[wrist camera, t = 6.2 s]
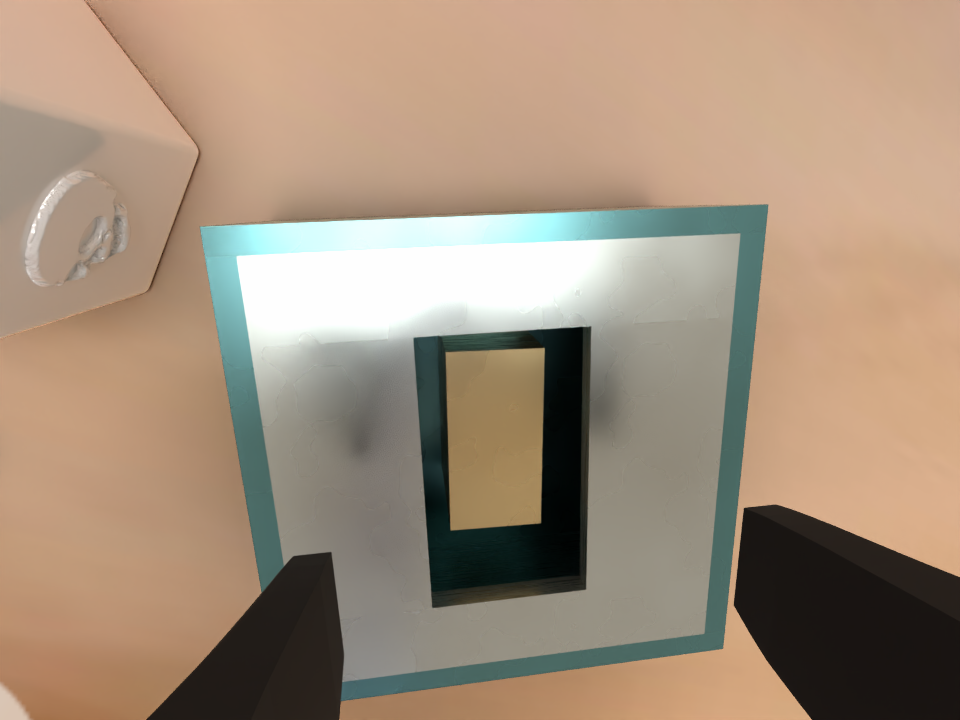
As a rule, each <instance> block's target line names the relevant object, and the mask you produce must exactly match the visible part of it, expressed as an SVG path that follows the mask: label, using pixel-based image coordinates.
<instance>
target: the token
mask: <svg viewBox="0 0 960 720" xmlns="http://www.w3.org/2000/svg"><path fill="white" fill-rule="evenodd" d="M544 356H545V348H544V347H543V346H542V345H541V344H540V343H539V342H538V341H537V340H536V339H535V338H534V337H533V336H532V335H531V334H530V333H529V332H528V331H527V330H523V331H508V332H492V333H476V334H460V335H445V336H438V364H439V396H440V428H441V460H442V471H443V478H444V486H445V493H446V501H447V508H448V515H449V523H450V530H463V529H476V528H488V527H500V526H513V525H525V524H537V523H541V490H542V445H543V400H544Z"/></svg>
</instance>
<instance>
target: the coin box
mask: <svg viewBox="0 0 960 720" xmlns="http://www.w3.org/2000/svg"><path fill="white" fill-rule="evenodd" d="M767 213H768V205H700V206H644V207H618V208H592V209H566V210H540V211H514V212H488V213H462V214H436V215H410V216H384V217H358V218H332V219H306V220H280V221H264V222H251V223H239V224H227V225H215V226H203V227H200V231H201V237H202V243H203V249H204V255H205V260H206V266H207V272H208V278H209V284H210V290H211V296H212V302H213V308H214V314H215V320H216V326H217V331H218V337H219V343H220V349H221V355H222V361H223V367H224V373H225V379H226V385H227V391H228V396H229V402H230V408H231V414H232V420H233V426H234V432H235V438H236V444H237V450H238V456H239V461H240V467H241V473H242V479H243V485H244V491H245V497H246V503H247V509H248V515H249V521H250V527H251V532H252V538H253V544H254V550H255V556H256V562H257V568H258V574H259V580H260V586H261V592H263V591H264V590H265V588H266V587H267V586H268V585H269V584H270V582H271V581H272V580H273V579H274V578H275V576H276V575H277V574H278V573H279V572H280V570H281V569H282V568H283V567H284V566H285V565H286V563H287V562H288V561H289V560H290V559H291V558H292V557H293V556H297V555H307V554H316V553H325V552H332V560H333V568H334V576H335V584H336V592H337V600H338V608H339V616H340V624H341V632H342V640H343V648H344V666H343V680H342V692H341V701H345V700H353V699H360V698H367V697H375V696H382V695H389V694H397V693H404V692H411V691H419V690H426V689H433V688H440V687H448V686H455V685H462V684H470V683H477V682H484V681H492V680H499V679H506V678H514V677H521V676H528V675H535V674H543V673H550V672H557V671H565V670H572V669H579V668H587V667H594V666H601V665H609V664H616V663H623V662H631V661H638V660H645V659H652V658H660V657H667V656H674V655H682V654H689V653H696V652H704V651H711V650H718V649H723V643H724V634H725V624H726V614H727V604H728V595H729V585H730V575H731V565H732V555H733V546H734V536H735V526H736V516H737V506H738V497H739V487H740V477H741V467H742V458H743V448H744V438H745V428H746V418H747V409H748V399H749V389H750V379H751V370H752V360H753V350H754V340H755V330H756V321H757V311H758V301H759V291H760V281H761V272H762V262H763V252H764V242H765V233H766V223H767ZM523 330H527V331H528V332H529V333H530V334H531V335H532V336H533V337H534V338H535V339H536V340H537V341H538V342H539V343H540V344H541V345H542V346H543V347H544V348H545V356H544V400H543V445H542V490H541V523H537V524H525V525H513V526H500V527H488V528H476V529H463V530H450V523H449V515H448V508H447V501H446V493H445V486H444V478H443V471H442V460H441V428H440V396H439V364H438V336H445V335H460V334H476V333H492V332H508V331H523Z"/></svg>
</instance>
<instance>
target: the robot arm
mask: <svg viewBox="0 0 960 720" xmlns="http://www.w3.org/2000/svg"><path fill="white" fill-rule="evenodd" d="M734 606H735V608H736V610H737V612H738V613H739V615H740V617H741V619H742V620H743V622H744V624H745V626H746V627H747V629H748V631H749V633H750V634H751V636H752V638H753V639H754V641H755V642H756V644H757V646H758V647H759V649H760V650H761V652H762V654H763V655H764V657H765V658H766V660H767V661H768V663H769V664H770V665H771V667H772V668H773V669H774V671H775V672H776V673H777V675H778V676H779V677H780V679H781V680H782V681H783V683H784V684H785V685H786V687H787V688H788V689H789V690H790V692H791V693H792V694H793V696H794V697H795V698H796V700H797V701H798V702H799V704H800V705H801V706H802V707H803V709H804V710H805V711H806V713H807V714H808V715H809V716H810V718H811V719H812V720H960V577H958V576H955V575H953V574H950V573H947V572H945V571H942V570H940V569H937V568H935V567H932V566H930V565H927V564H925V563H923V562H920V561H918V560H915V559H913V558H910V557H908V556H905V555H903V554H901V553H898V552H896V551H893V550H891V549H888V548H886V547H884V546H881V545H879V544H876V543H874V542H872V541H869V540H867V539H864V538H862V537H860V536H857V535H855V534H852V533H850V532H848V531H845V530H843V529H840V528H838V527H836V526H833V525H831V524H828V523H826V522H823V521H821V520H818V519H816V518H813V517H811V516H808V515H805V514H803V513H800V512H797V511H794V510H791V509H788V508H785V507H782V506H779V505H767V506H758V507H748V508H744V513H743V522H742V532H741V541H740V551H739V560H738V570H737V579H736V589H735V598H734ZM343 666H344V648H343V640H342V632H341V624H340V616H339V608H338V600H337V592H336V584H335V576H334V568H333V560H332V552H325V553H316V554H307V555H297V556H293V557H292V558H291V559H290V560H289V561H288V562H287V563H286V565H285V566H284V567H283V568H282V569H281V570H280V572H279V573H278V574H277V575H276V576H275V578H274V579H273V580H272V581H271V582H270V584H269V585H268V586H267V587H266V588H265V590H264V591H263V592H262V593H261V594H260V596H259V597H258V598H257V599H256V600H255V602H254V603H253V604H252V605H251V606H250V608H249V609H248V610H247V611H246V612H245V614H244V615H243V616H242V617H241V618H240V619H239V621H238V622H237V623H236V624H235V625H234V626H233V627H232V629H231V630H230V631H229V632H228V633H227V634H226V635H225V636H224V638H223V639H222V640H221V641H220V642H219V643H218V644H217V646H216V647H215V648H214V649H213V650H212V651H211V652H210V654H209V655H208V656H207V657H206V658H205V659H204V660H203V661H202V662H201V663H200V664H199V666H198V667H197V668H196V669H195V670H194V671H193V672H192V673H191V674H190V675H189V676H188V677H187V678H186V679H185V680H184V681H183V682H182V683H181V684H180V685H179V686H178V687H177V689H176V690H175V691H174V692H173V693H172V694H171V695H170V696H169V697H168V698H167V699H166V700H165V701H164V702H163V703H162V704H161V705H160V706H159V707H158V708H157V709H156V710H155V711H154V712H153V713H152V714H151V715H150V716H149V717H148V718H147V719H146V720H339V715H340V704H341V692H342V680H343Z"/></svg>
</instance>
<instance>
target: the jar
mask: <svg viewBox="0 0 960 720" xmlns="http://www.w3.org/2000/svg"><path fill="white" fill-rule="evenodd" d="M198 154H199V151H198V148H197V146H196V144H195V143H194V142H193V140H192V139H191V138H190V137H189V135H188V134H187V133H186V131H185V130H184V129H183V128H182V126H181V125H180V124H179V122H178V121H177V120H176V119H175V117H174V116H173V115H172V113H171V112H170V111H169V110H168V108H167V107H166V106H165V104H164V103H163V102H162V101H161V99H160V98H159V97H158V95H157V94H156V93H155V91H154V90H153V89H152V88H151V86H150V85H149V84H148V82H147V81H146V80H145V79H144V77H143V76H142V75H141V73H140V72H139V71H138V70H137V68H136V67H135V66H134V64H133V63H132V62H131V60H130V59H129V58H128V57H127V55H126V54H125V53H124V51H123V50H122V49H121V48H120V46H119V45H118V44H117V42H116V41H115V40H114V38H113V37H112V36H111V35H110V33H109V32H108V31H107V29H106V28H105V27H104V25H103V24H102V23H101V22H100V20H99V19H98V18H97V16H96V15H95V14H94V12H93V11H92V10H91V9H90V7H89V6H88V5H87V3H86V2H85V1H84V0H0V339H2V338H5V337H8V336H12V335H15V334H18V333H21V332H24V331H27V330H30V329H34V328H37V327H40V326H43V325H46V324H49V323H52V322H56V321H59V320H62V319H65V318H68V317H71V316H74V315H78V314H81V313H84V312H87V311H90V310H93V309H96V308H100V307H103V306H106V305H109V304H112V303H115V302H118V301H122V300H125V299H128V298H131V297H134V296H137V295H140V294H143V293H145V292H146V291H147V290H148V289H149V287H150V285H151V282H152V279H153V276H154V274H155V271H156V268H157V266H158V263H159V260H160V258H161V255H162V252H163V249H164V247H165V244H166V241H167V239H168V236H169V233H170V231H171V228H172V225H173V223H174V220H175V217H176V214H177V212H178V209H179V206H180V204H181V201H182V198H183V196H184V193H185V190H186V187H187V185H188V182H189V179H190V177H191V174H192V171H193V169H194V166H195V163H196V160H197V158H198Z"/></svg>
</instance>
